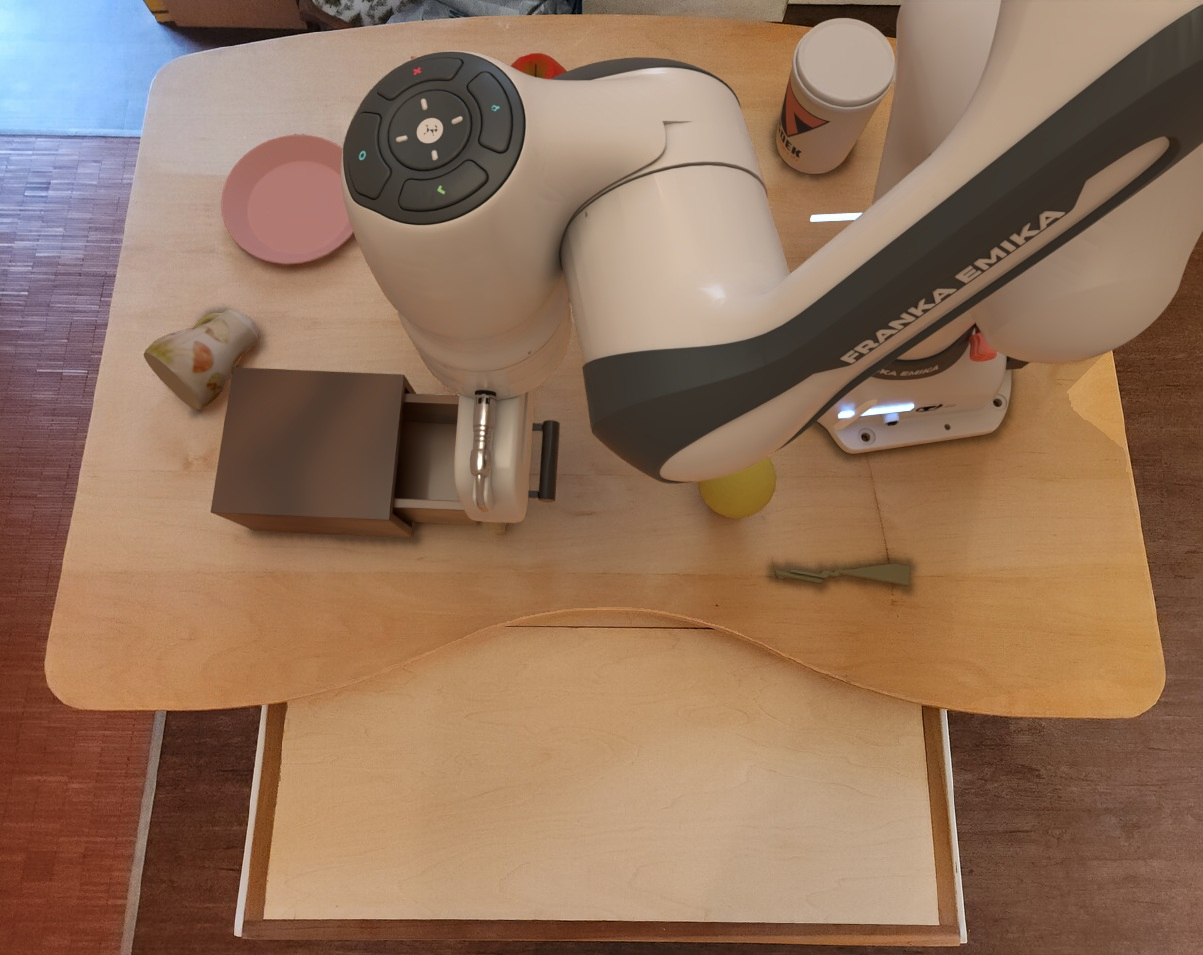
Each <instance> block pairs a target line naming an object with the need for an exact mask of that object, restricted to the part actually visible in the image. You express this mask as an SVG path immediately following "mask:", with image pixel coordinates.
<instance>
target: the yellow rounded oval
mask: <svg viewBox="0 0 1203 955" xmlns="http://www.w3.org/2000/svg"><path fill="white" fill-rule="evenodd" d="M696 482H697V486H698V491H699V494H700V496H701V498H702V500H703V502H704V503H705V504H706V505H707V506H708V507H709V508H710V509H711V510H712V511H713V512H714V513H717V514H719V515H721V516H723V517H725V518H730V519H731V518H732V519H742V518H749V517H751V516H753V515H755V514H758V513H759V512H762V510H763V509H764V508H765V507H766V506H767V505H768V504H769V503H770V501H771V500H772V498H773V495H774V494H775V492H776V487H777V473H776V468H775V465H774V462H773V461H772V460H771V457H770V456H768V457H767V458H765V459H763V460H762V461H760V462H758V463H757V464H755V465H753V466H751V467H749V468H746V469H744V470H742V471H739V472H736V473H733V474H730V475H727V476H723V477H719V478H715V479H709V480H703V481H696Z"/></svg>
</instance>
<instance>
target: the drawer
mask: <svg viewBox="0 0 1203 955" xmlns="http://www.w3.org/2000/svg"><path fill="white" fill-rule="evenodd" d="M458 406H459V395H450V394H446V395H445V394H431V393H430V394H429V393H428V394H427V393H416V394H408V393H404V403H403V413H402V423H401V432H400V442H399V452H398V461H397V471H396V481H395V491H394V500H393V510H392V513H393V514H394V515H395V516H397V517H398V518H399V519H400V520H402V521H407V522H414V523H431V524H433V523H434V524H453V525H454V524H456V525H476V526H477V525H479V524H478V523H479V521H475V520H472V519H470V518H469V517H468V516H467V514H466V512H465V510H464V508H463V506H462V504H461V502H460V499H459V497H458V494H457V491H456V486H455V478H454V455H455V442H456V430H457V418H458ZM560 428H561V423H560V422H559V421H557V420H554V419H547V420H544V421H543V422H542V423H539V422H537V423H536V422H533V426H532V432H541V446H540V448H541V449H540V464H539V480H538V490H531V489H529V491H528V499H537V500H538V501H539V502H541V503H554V502H556V499H557V485H558V484H557V482H558V468H559V467H558V465H559V448H560V432H561V429H560ZM483 523H484V524H485V526H486V527H487V529H488V530H489V531H490V533H491V534H496V535H497V534H498V535H504V534H505V533H506V523H503V522H483Z"/></svg>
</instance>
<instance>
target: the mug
mask: <svg viewBox="0 0 1203 955" xmlns="http://www.w3.org/2000/svg"><path fill="white" fill-rule="evenodd" d="M258 343H259V330H258V328H257V326H256V324H255V323H254V321H253V320H252V319H251V318H250V316H248V314H245V313H244V312H242V311H241V310H237V309H226V310H225V311H223V312H222V313H221V312H213V313H209V314H207V315H205V316H203V317H201V318H200V320H199V321H198V322H197V323H196V324H194V326H193V327H189V328H185V329H181V330H177V331H174V332H171V333H167V334H165V335H163V336H161V337H159V338H157V339H156V340H154V341H153V342H152V343H150V345H149V346H147V348H146V349H145V351H144V352H143V357H144V360H145V361H146V363H147V365H148V366H149V367H150V369H151V371H153V373H154V374H155V375H156V376H157V377H158V378H159V380H160V381H161V382H162V383H163V384H164V385H165V386H166V387H167V388H168V389H169V390H170V391H171V392H172V393H174V395H176V396H177V397H178V398H179V399H180V400H181V401H182V402H184V403H185V404H186V405H188V406H189V407H191V408H192V409H194V410H200V409H201V410H202V409H204V408H205V407H208V406H209V405H210V404H212V403H213V402H215V401H216V400H217V399H218V398H219V397H220V395H222V393H223V391H224V390H225V388H226V386H227V385H228V383H229V381H230V380H231V376H232V370H233V367H237V364H238V363H239V361H240V360H241V358H242V357H243V356H244V355H245V354H246V353H247V352H248V351H249V350H251V349H252V348H254V346H256V345H257V344H258Z"/></svg>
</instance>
